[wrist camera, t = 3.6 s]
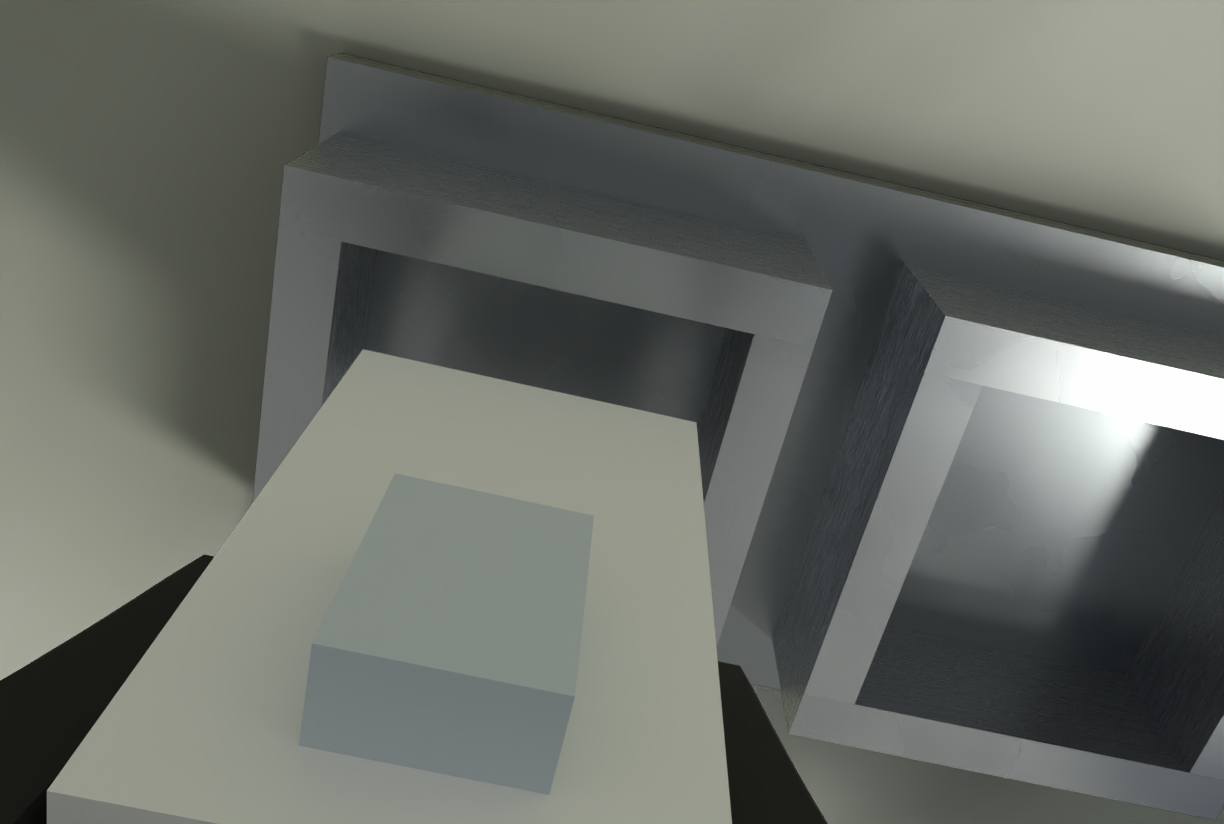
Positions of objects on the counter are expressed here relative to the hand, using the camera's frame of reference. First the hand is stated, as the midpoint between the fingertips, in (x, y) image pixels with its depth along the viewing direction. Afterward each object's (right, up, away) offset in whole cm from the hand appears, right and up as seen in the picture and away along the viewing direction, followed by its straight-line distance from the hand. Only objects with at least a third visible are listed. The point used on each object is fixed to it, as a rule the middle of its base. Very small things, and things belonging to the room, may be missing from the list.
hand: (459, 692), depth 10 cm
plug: (0, +1, +3) cm, 3 cm away
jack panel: (+4, +2, +7) cm, 9 cm away
